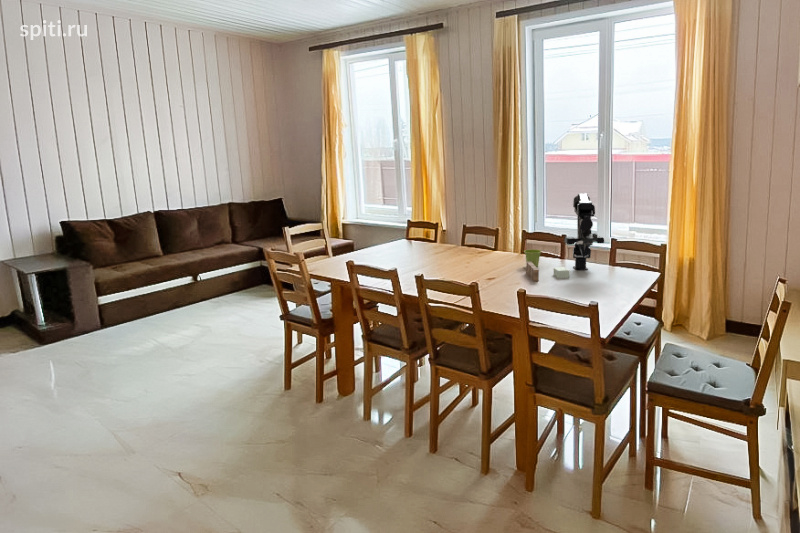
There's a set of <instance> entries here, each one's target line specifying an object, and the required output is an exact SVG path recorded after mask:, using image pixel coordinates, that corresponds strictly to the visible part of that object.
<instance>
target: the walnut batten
mask: <svg viewBox="0 0 800 533" xmlns="http://www.w3.org/2000/svg"><path fill="white" fill-rule="evenodd" d="M539 272H540V269H539V268H538V267H536V266H535V265H534V264H533V263H532V262H527V263H526V274H527V275H528V277H529V278H530V279H531V281H533V282H539V278H540V277H539V276H540V273H539Z"/></svg>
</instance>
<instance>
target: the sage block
mask: <svg viewBox="0 0 800 533" xmlns="http://www.w3.org/2000/svg"><path fill="white" fill-rule="evenodd" d="M553 275H554V277H556V278H557V279H563V278H564V279H565V278H566V279H568V278H570V270H569V269H568V268H567V267H566V266H562V267H553Z"/></svg>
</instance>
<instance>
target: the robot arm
mask: <svg viewBox="0 0 800 533" xmlns="http://www.w3.org/2000/svg"><path fill="white" fill-rule="evenodd" d="M572 201H573V202H572V205H573V208H574V213H575V214H576V217H577V221H576V223H577V224H576V225H577V228H576V229H577V238H574V237H573V236H565V237H564V241H563V242H564V243H565V244H566V245H574V246H573V249H572V259H574V266H572V268H573V269H575V271H584V270H585V271H587V270H589V268H588V267H587V259H591V253H592V249H591V246H593V244H594V242H596V243H597V244H604V243H605V238H604V237H602V236H601V235H598V233H596V232H595V233H594V232H593V233H592V228H593V226H594V223H593V221H592V217H595V215H596V207H595V204H593V201H591V198H590V196H589V194H588V192H579V193H578V194H577V195H576V196H575V197H574V198H573V200H572Z"/></svg>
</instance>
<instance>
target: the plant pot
mask: <svg viewBox="0 0 800 533" xmlns="http://www.w3.org/2000/svg"><path fill="white" fill-rule="evenodd" d="M523 252H524V254H525V261H526V264H527V262H532V263H533V264H534V265H535V266H536V267H537V268H538V267H539V263H540V258H541V257H540V256H541V253H542V250H541V249H525V250H523Z"/></svg>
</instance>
